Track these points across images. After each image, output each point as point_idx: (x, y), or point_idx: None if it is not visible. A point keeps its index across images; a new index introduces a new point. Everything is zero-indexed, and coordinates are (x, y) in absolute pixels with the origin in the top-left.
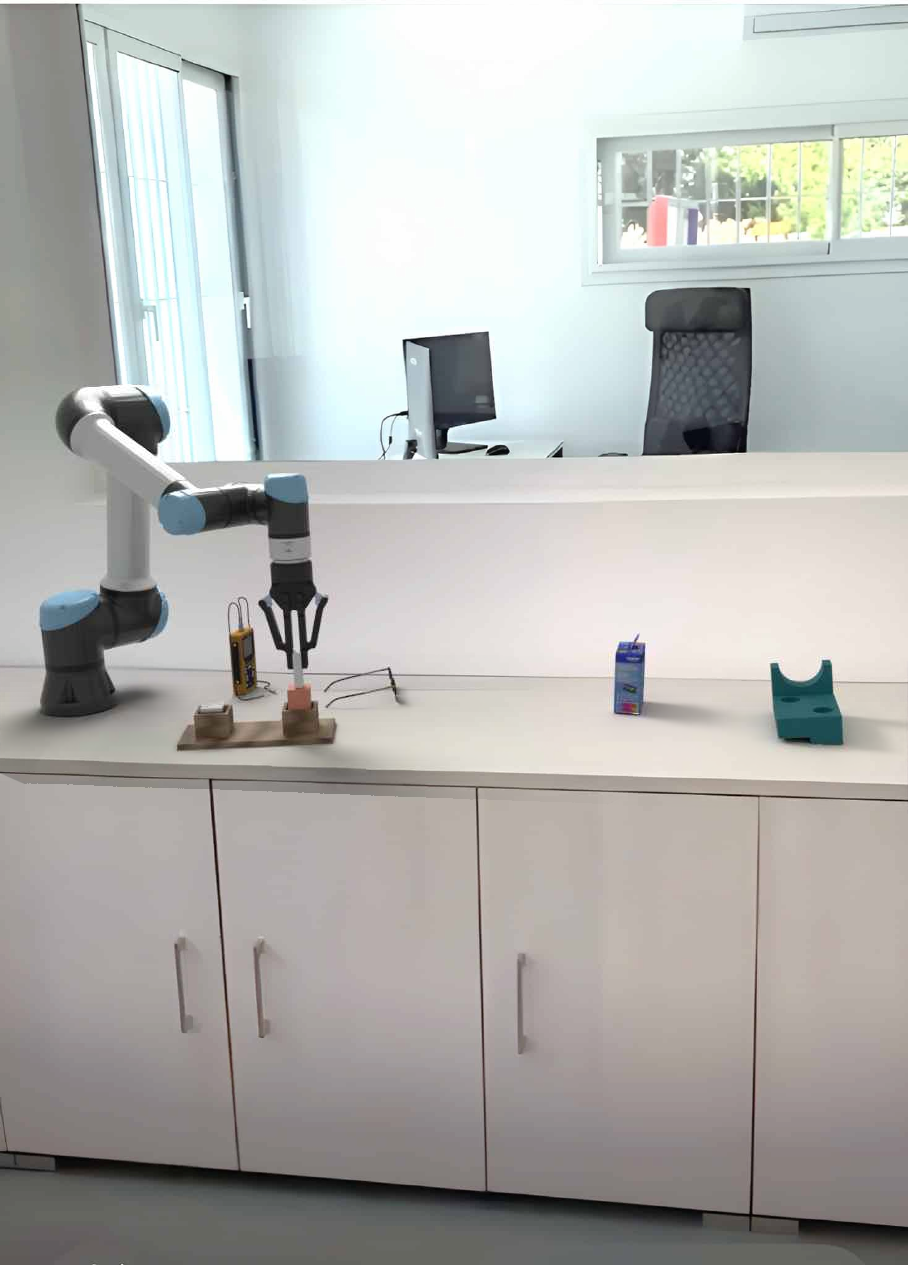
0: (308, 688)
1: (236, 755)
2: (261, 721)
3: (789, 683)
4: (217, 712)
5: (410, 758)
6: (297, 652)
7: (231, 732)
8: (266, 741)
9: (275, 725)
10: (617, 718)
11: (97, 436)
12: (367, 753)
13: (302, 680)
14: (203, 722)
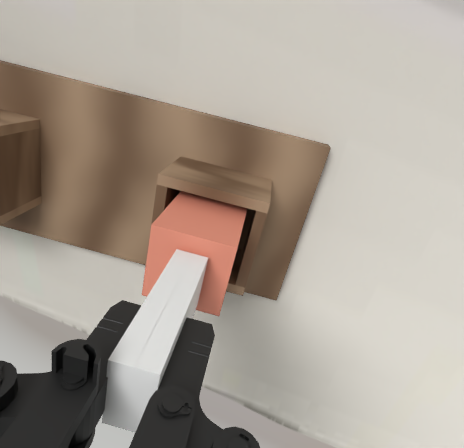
0: (219, 305)
1: (74, 283)
2: (112, 94)
3: None
4: None
5: (393, 422)
6: (131, 417)
7: (40, 170)
8: (129, 259)
9: (151, 151)
10: None
11: None
12: (327, 372)
13: (193, 313)
14: None
